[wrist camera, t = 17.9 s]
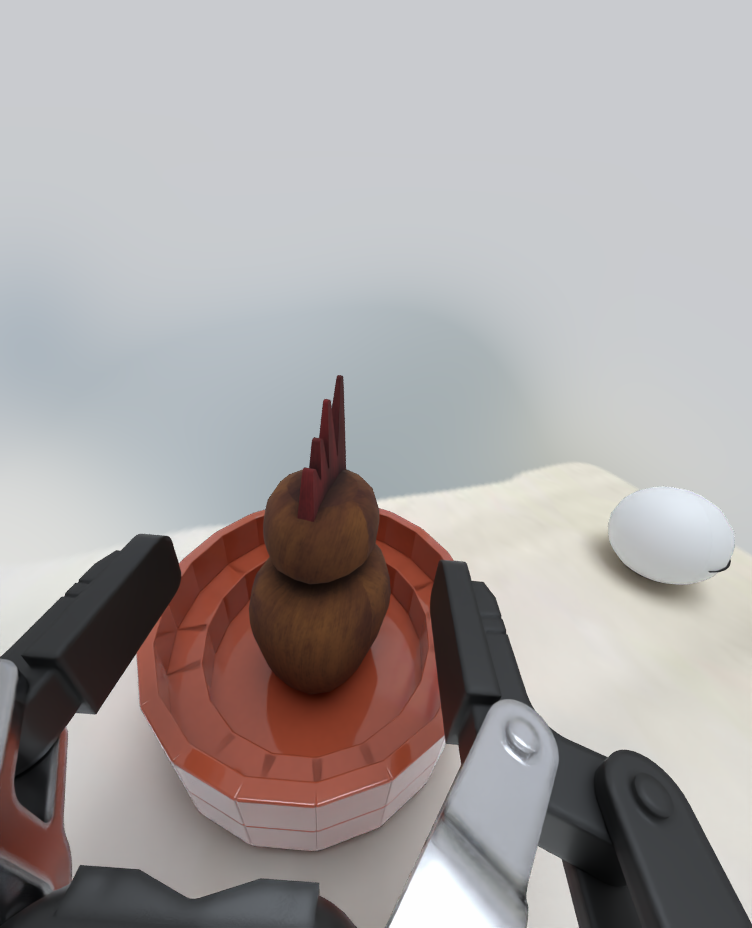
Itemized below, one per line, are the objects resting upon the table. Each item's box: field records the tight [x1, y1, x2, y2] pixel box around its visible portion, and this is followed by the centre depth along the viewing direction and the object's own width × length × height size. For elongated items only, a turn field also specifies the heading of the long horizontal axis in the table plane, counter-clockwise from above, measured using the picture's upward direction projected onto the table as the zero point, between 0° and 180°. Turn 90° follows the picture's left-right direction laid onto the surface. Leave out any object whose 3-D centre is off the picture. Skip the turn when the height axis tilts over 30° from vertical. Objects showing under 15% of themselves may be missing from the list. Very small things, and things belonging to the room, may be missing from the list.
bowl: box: [136, 508, 454, 851], centre depth 18 cm, size 15×15×6 cm
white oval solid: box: [608, 486, 735, 585], centre depth 26 cm, size 10×7×7 cm
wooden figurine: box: [249, 375, 391, 695], centre depth 15 cm, size 7×6×15 cm
